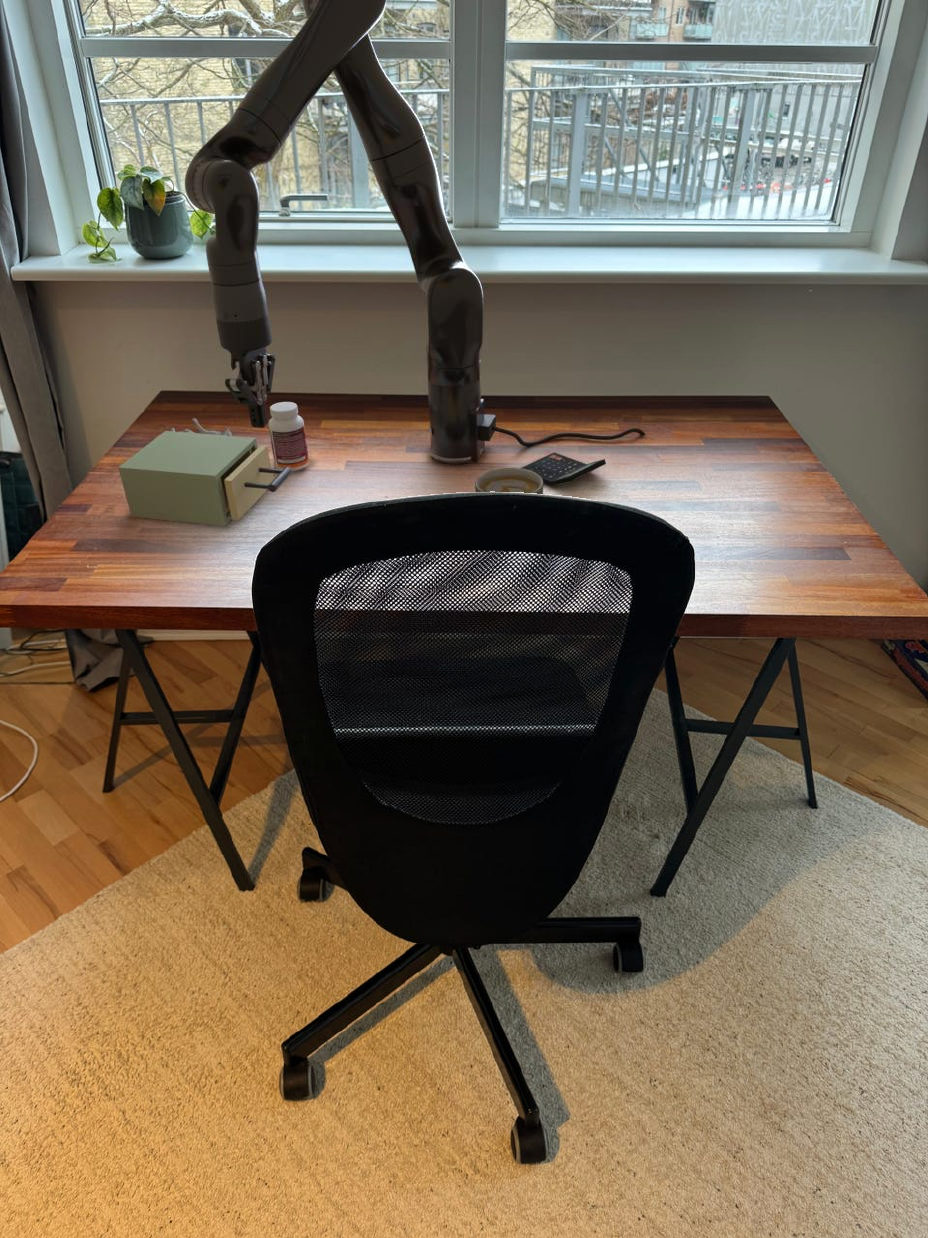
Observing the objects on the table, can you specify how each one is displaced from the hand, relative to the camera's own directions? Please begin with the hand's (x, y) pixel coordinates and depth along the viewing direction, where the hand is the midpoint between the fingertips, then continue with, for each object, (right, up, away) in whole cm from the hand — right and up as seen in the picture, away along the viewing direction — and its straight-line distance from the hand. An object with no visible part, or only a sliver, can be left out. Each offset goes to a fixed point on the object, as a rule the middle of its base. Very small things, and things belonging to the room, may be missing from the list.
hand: (260, 425), depth 138 cm
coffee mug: (+38, -18, -2) cm, 42 cm away
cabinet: (-13, -10, +11) cm, 20 cm away
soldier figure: (-17, +2, +30) cm, 35 cm away
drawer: (-7, -10, +9) cm, 15 cm away
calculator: (+49, -5, +16) cm, 51 cm away
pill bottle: (+1, -3, +22) cm, 22 cm away
